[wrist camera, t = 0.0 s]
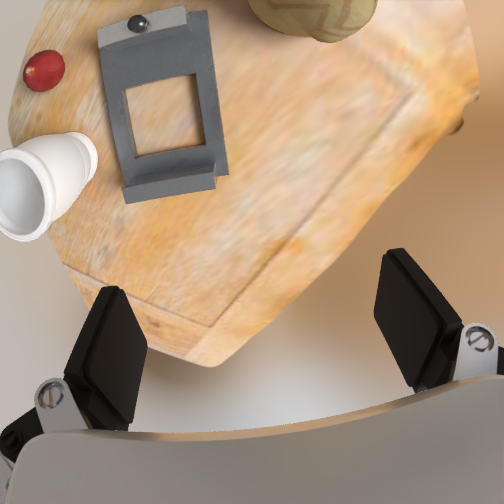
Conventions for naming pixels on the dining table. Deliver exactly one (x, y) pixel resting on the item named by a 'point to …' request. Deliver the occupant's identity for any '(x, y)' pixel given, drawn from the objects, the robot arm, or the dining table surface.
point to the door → (145, 28)
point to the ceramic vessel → (315, 17)
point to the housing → (152, 70)
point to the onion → (44, 70)
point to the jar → (43, 181)
